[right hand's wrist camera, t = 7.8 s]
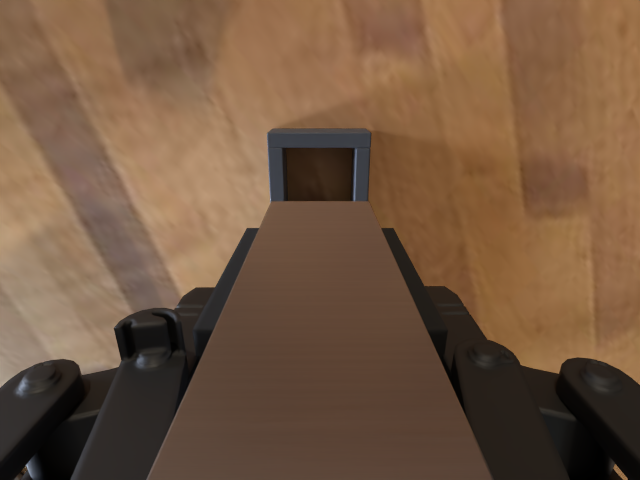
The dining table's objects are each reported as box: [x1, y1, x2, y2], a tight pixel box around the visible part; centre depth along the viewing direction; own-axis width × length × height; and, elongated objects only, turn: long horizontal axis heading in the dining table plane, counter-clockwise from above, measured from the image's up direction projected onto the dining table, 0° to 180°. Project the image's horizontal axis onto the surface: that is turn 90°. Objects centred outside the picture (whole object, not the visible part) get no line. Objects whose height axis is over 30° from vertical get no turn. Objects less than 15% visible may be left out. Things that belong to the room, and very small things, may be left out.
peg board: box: [267, 129, 371, 203], centre depth 27 cm, size 24×7×11 cm, turn 0°
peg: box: [146, 201, 494, 480], centre depth 10 cm, size 4×4×12 cm
